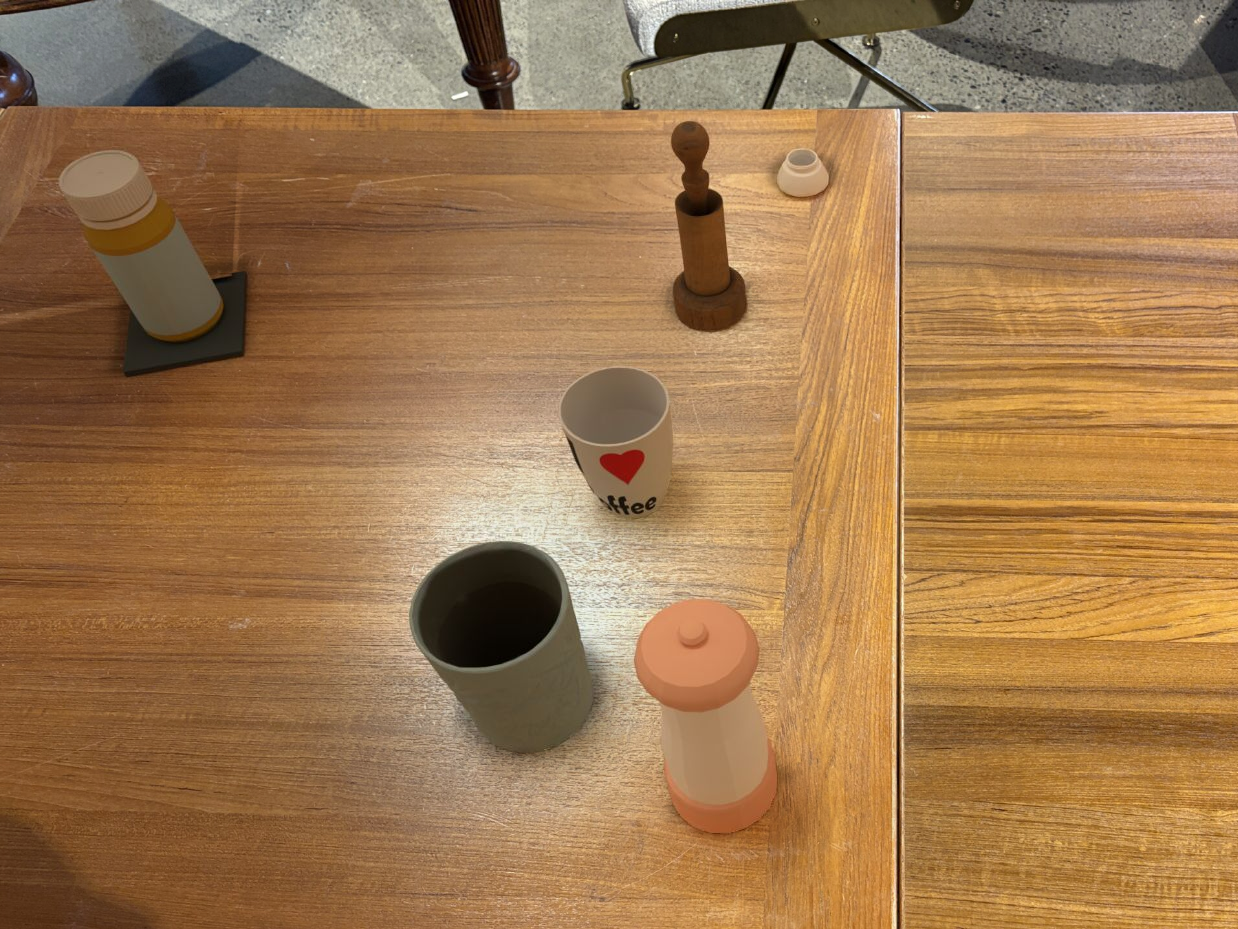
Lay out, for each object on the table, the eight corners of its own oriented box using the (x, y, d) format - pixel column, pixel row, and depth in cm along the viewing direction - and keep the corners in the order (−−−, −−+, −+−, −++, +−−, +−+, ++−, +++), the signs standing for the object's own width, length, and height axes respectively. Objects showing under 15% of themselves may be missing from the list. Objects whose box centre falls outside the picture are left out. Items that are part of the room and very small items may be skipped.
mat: (126, 376, 104) (122, 371, 103) (136, 294, 110) (132, 289, 110) (244, 355, 105) (241, 350, 105) (247, 275, 111) (244, 270, 111)
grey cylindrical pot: (561, 781, 81) (520, 691, 71) (432, 737, 83) (375, 643, 73) (626, 662, 86) (596, 562, 77) (503, 623, 89) (458, 522, 79)
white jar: (768, 192, 117) (815, 205, 115) (767, 166, 114) (814, 179, 113) (791, 163, 119) (837, 176, 118) (790, 137, 117) (836, 149, 115)
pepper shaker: (686, 729, 83) (646, 564, 67) (788, 747, 82) (771, 584, 66) (657, 823, 79) (606, 672, 63) (763, 843, 78) (739, 695, 63)
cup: (566, 518, 94) (538, 430, 86) (611, 445, 98) (588, 355, 90) (659, 545, 92) (640, 458, 84) (701, 470, 97) (687, 380, 88)
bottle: (150, 355, 105) (55, 210, 92) (142, 305, 108) (49, 160, 96) (231, 332, 106) (148, 186, 94) (220, 284, 110) (139, 138, 97)
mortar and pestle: (761, 312, 107) (746, 132, 92) (699, 342, 105) (673, 162, 90) (722, 272, 110) (702, 91, 95) (661, 300, 108) (630, 120, 93)
